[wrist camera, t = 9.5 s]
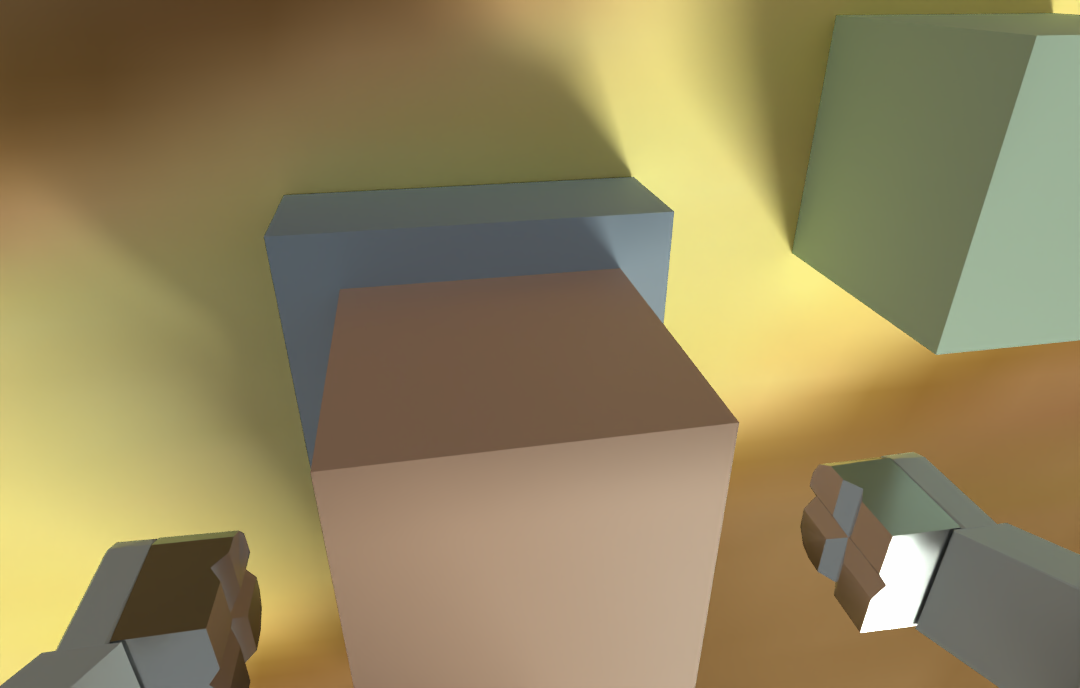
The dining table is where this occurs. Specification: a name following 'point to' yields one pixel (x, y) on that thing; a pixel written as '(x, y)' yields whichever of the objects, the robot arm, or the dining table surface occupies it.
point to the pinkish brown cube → (518, 485)
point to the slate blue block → (450, 250)
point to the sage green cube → (951, 176)
